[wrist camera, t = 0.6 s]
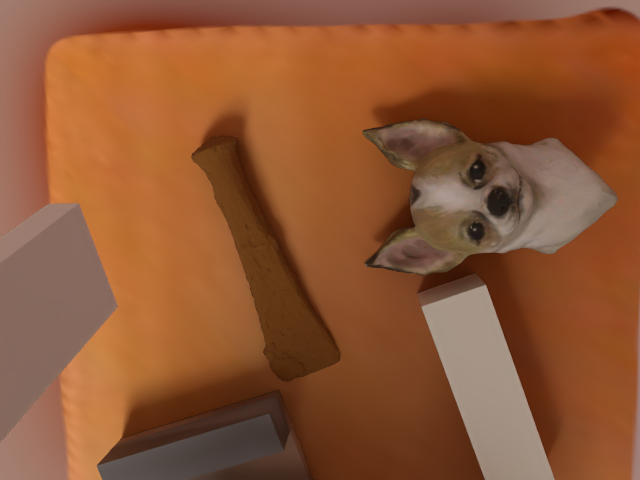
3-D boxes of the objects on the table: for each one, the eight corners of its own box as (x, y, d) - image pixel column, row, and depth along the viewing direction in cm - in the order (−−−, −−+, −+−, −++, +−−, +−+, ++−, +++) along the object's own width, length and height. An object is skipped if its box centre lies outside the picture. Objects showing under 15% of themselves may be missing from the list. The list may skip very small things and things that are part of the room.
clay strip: (542, 464, 41) (560, 496, 37) (485, 480, 42) (497, 513, 38) (474, 272, 39) (486, 284, 35) (416, 292, 40) (421, 306, 36)
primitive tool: (343, 358, 41) (340, 376, 38) (280, 383, 42) (272, 402, 39) (239, 129, 40) (226, 126, 36) (175, 160, 40) (156, 159, 37)
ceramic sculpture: (626, 296, 30) (357, 293, 32) (577, 267, 38) (367, 267, 41) (635, 100, 28) (354, 112, 31) (582, 115, 37) (365, 124, 39)
